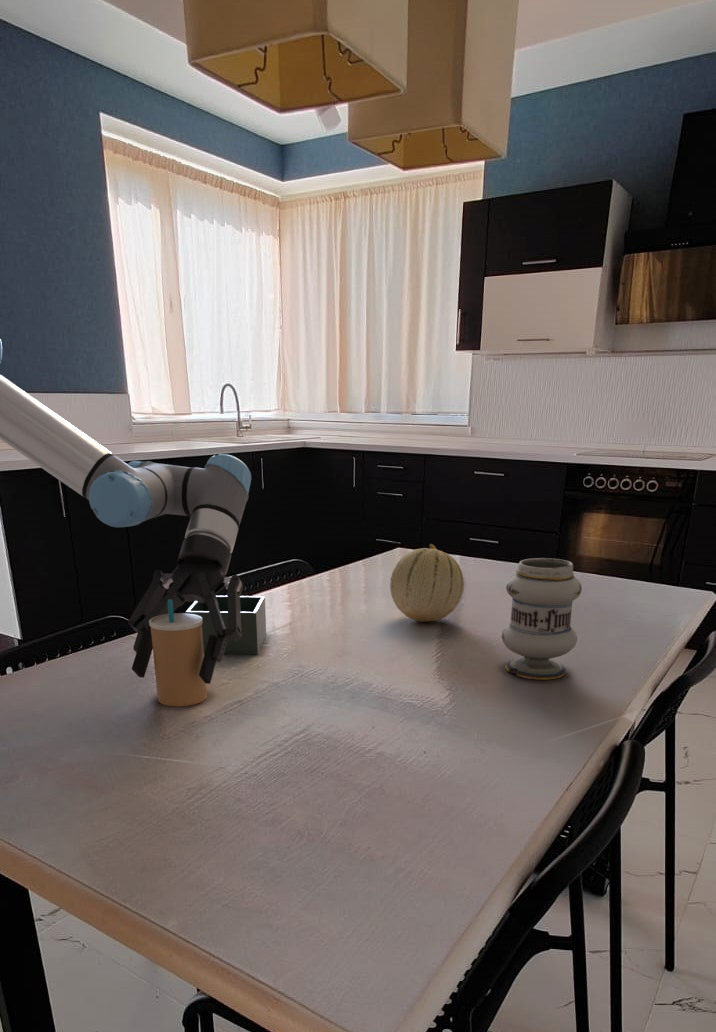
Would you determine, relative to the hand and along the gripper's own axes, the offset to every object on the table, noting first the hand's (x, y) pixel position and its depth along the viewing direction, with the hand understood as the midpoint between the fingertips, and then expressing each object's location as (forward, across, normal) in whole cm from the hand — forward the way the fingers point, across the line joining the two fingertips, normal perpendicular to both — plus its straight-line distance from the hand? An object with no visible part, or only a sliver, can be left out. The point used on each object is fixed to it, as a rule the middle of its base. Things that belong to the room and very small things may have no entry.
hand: (170, 676), depth 111 cm
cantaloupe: (-37, -28, -44) cm, 64 cm away
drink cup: (+1, 0, -5) cm, 5 cm away
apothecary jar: (-18, -51, -25) cm, 60 cm away
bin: (-19, +4, -25) cm, 31 cm away
